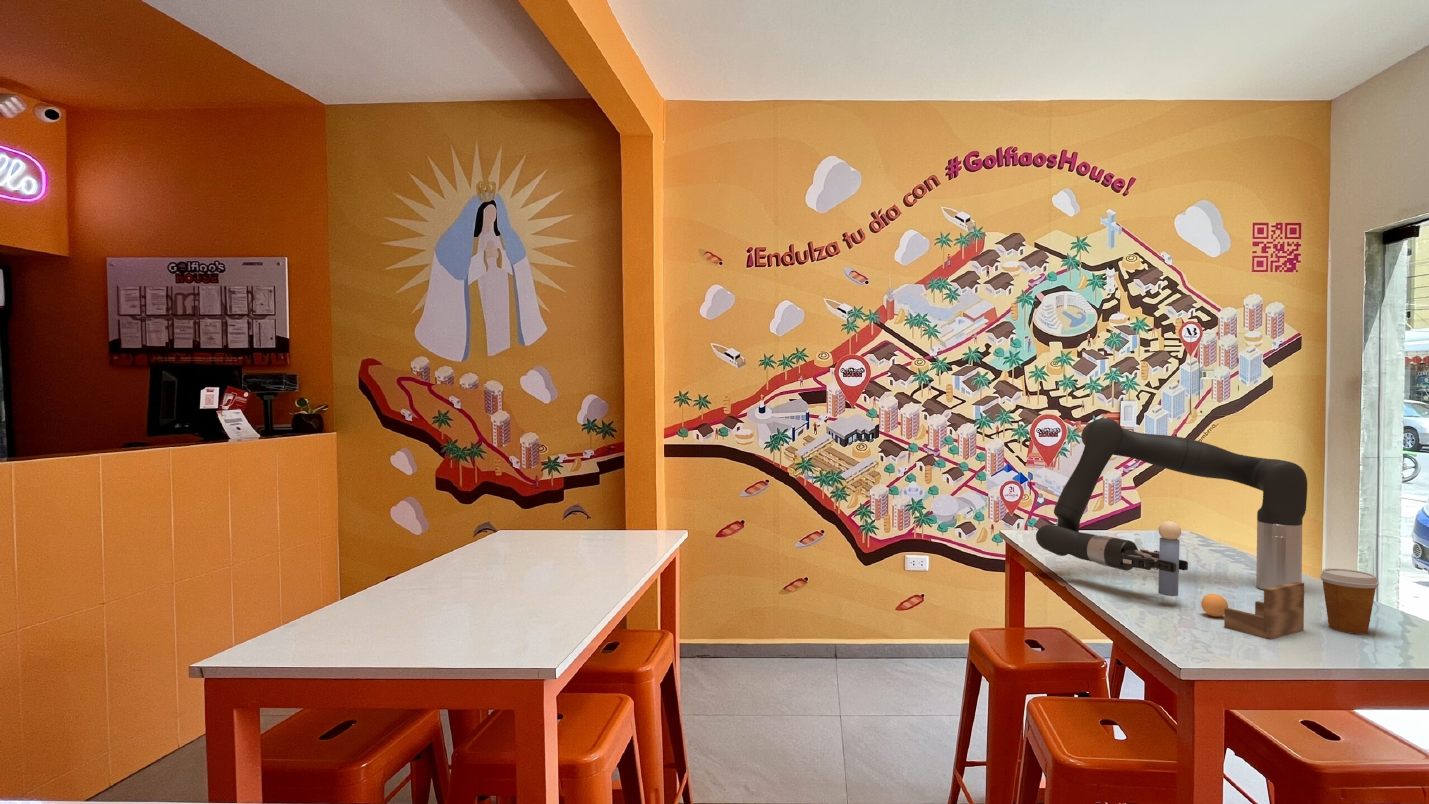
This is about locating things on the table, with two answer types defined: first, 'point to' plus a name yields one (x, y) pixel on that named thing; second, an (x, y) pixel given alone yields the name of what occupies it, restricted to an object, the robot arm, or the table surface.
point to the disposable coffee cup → (1349, 599)
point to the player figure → (1169, 557)
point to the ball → (1214, 605)
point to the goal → (1271, 613)
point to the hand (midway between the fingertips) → (1181, 566)
